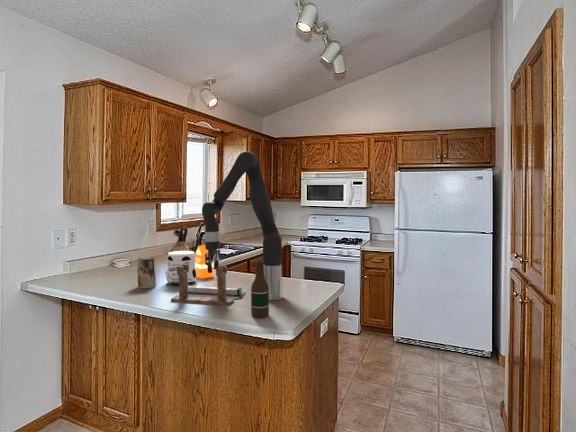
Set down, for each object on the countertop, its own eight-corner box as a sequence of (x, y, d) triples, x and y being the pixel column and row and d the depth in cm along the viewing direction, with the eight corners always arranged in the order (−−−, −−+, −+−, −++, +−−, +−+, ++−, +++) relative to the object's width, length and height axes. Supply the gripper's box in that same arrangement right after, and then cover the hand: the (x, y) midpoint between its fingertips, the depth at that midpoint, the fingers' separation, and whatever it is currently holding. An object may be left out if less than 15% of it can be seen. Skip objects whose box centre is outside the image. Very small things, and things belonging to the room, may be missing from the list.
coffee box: (156, 284, 212) (155, 257, 211) (154, 287, 206) (154, 259, 205) (139, 285, 210) (139, 257, 209) (137, 288, 204) (136, 259, 203)
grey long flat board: (245, 293, 194) (245, 292, 194) (238, 299, 183) (238, 298, 183) (189, 290, 201) (189, 289, 201) (179, 296, 189) (179, 295, 189)
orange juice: (195, 276, 234) (195, 245, 233) (207, 274, 240) (207, 244, 239) (201, 278, 228) (201, 246, 227) (213, 276, 234) (213, 245, 233)
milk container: (170, 288, 205) (170, 256, 204) (163, 281, 219) (162, 252, 218) (200, 284, 214) (200, 253, 213) (191, 278, 229) (191, 249, 228)
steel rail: (241, 294, 190) (241, 287, 190) (239, 296, 187) (239, 289, 187) (187, 291, 196) (187, 284, 196) (184, 293, 193) (184, 286, 192)
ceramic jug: (182, 274, 241) (182, 228, 239) (163, 272, 246) (162, 227, 244) (197, 269, 256) (197, 226, 255) (179, 267, 262) (179, 225, 260)
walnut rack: (233, 301, 179) (233, 266, 178) (229, 305, 173) (229, 268, 172) (177, 298, 185) (176, 263, 184) (170, 301, 179) (170, 266, 178)
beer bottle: (252, 312, 163) (252, 258, 162) (270, 313, 162) (270, 259, 161) (249, 318, 155) (249, 262, 154) (267, 318, 155) (267, 262, 153)
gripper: (213, 242, 182) (214, 274, 183) (224, 238, 196) (225, 268, 197) (199, 241, 184) (200, 273, 185) (211, 238, 198) (212, 268, 199)
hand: (213, 271), depth 191 cm, fingers open, 8 cm apart
